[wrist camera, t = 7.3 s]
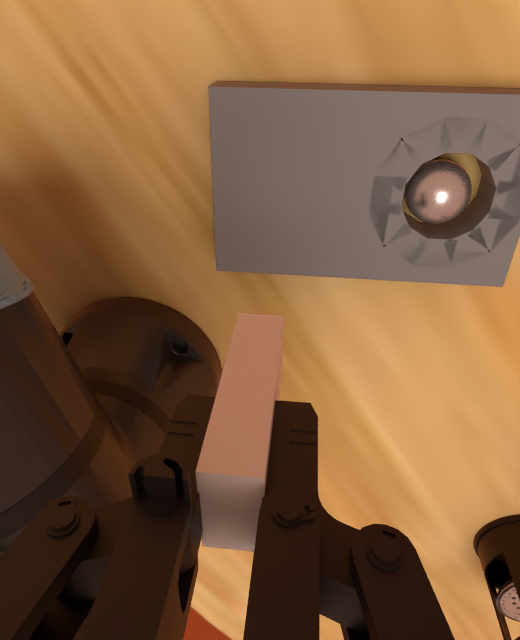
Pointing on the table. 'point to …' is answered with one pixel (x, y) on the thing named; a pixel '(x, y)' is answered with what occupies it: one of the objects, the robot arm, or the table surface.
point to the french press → (502, 567)
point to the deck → (360, 180)
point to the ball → (438, 191)
